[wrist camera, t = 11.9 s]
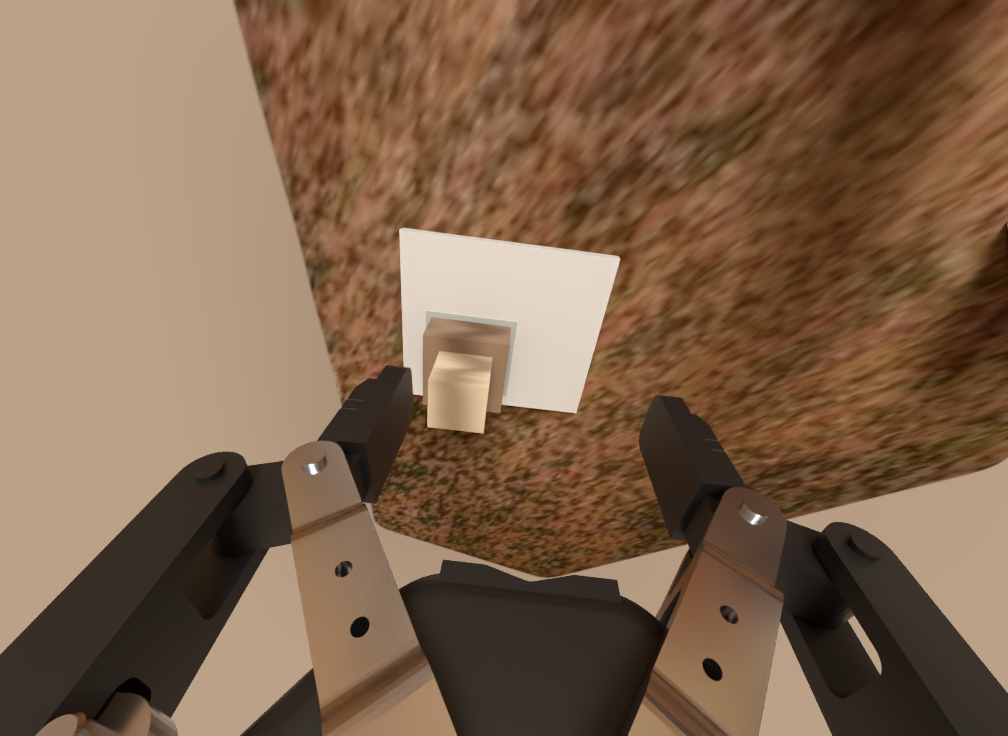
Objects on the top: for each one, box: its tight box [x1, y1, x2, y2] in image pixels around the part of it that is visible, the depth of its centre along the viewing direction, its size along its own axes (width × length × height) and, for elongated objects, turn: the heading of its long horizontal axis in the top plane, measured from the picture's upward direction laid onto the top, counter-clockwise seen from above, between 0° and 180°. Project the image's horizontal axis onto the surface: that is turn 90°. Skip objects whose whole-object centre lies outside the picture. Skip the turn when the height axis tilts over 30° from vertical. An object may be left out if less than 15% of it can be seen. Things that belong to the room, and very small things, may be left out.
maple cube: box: [427, 351, 493, 433], centre depth 33 cm, size 5×5×5 cm
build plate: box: [399, 228, 620, 413], centre depth 38 cm, size 20×18×1 cm
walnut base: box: [423, 317, 511, 413], centre depth 37 cm, size 8×8×4 cm
